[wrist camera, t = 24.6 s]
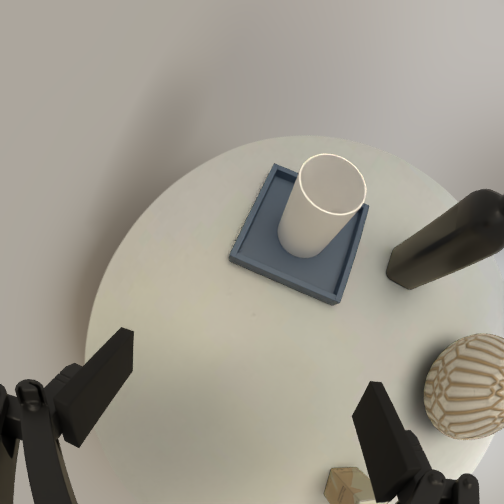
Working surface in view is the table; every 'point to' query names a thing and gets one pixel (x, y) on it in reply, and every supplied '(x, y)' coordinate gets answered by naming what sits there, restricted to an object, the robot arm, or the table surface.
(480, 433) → the vase
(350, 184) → the cup
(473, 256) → the wine bottle
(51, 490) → the robot arm
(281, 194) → the cup tray
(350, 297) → the table surface
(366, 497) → the box
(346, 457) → the table surface
